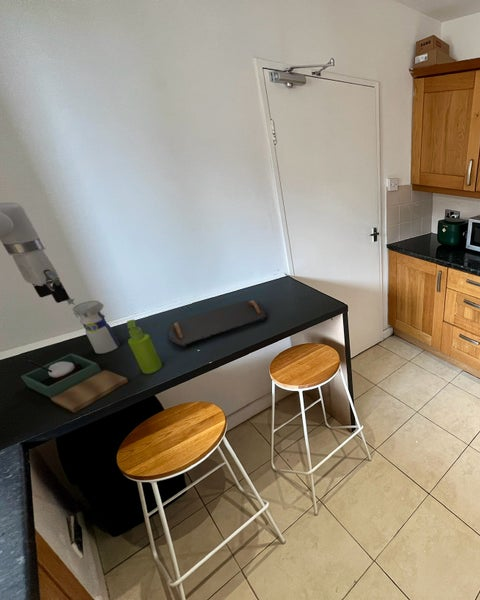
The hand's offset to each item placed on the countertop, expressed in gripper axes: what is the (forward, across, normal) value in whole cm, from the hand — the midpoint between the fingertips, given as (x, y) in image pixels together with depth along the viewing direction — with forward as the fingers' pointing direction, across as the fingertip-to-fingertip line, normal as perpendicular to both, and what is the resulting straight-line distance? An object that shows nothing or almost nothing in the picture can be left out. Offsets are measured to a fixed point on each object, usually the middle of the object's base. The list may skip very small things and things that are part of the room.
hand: (55, 298), depth 100 cm
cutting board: (+29, +12, -7) cm, 32 cm away
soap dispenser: (+29, +19, +8) cm, 36 cm away
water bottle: (+29, -11, +10) cm, 32 cm away
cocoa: (+29, -2, -7) cm, 30 cm away
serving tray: (+29, +16, +39) cm, 52 cm away
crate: (+29, -2, -7) cm, 30 cm away
